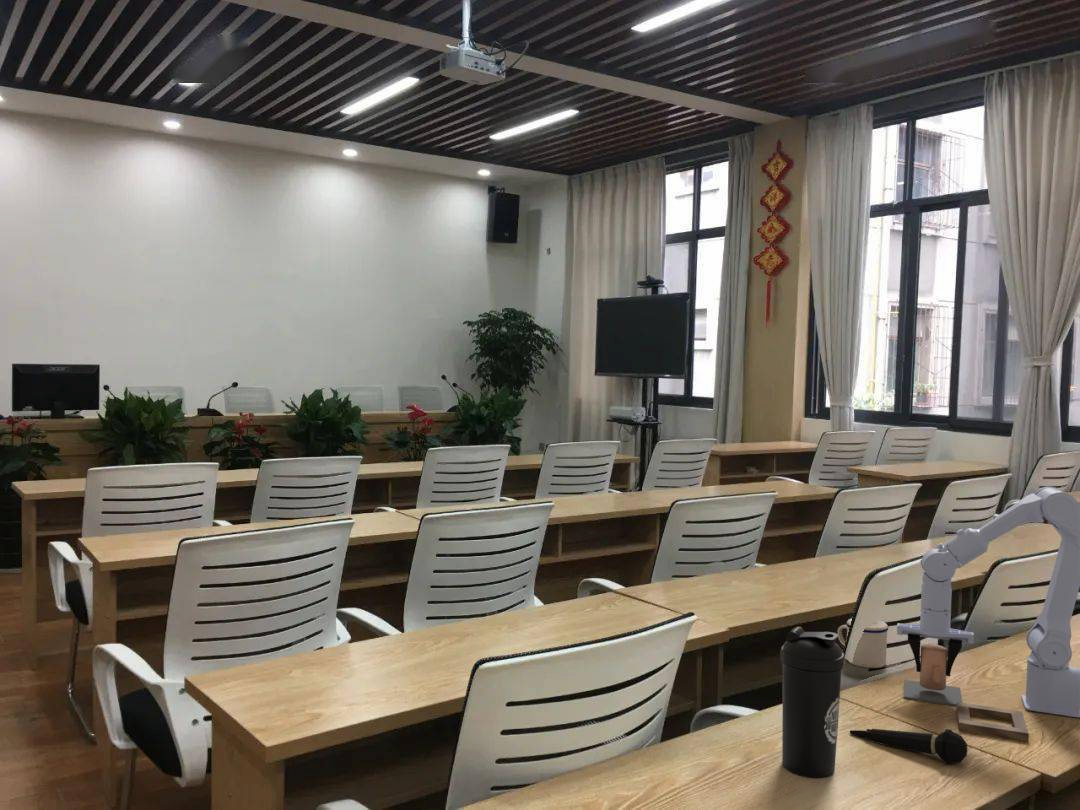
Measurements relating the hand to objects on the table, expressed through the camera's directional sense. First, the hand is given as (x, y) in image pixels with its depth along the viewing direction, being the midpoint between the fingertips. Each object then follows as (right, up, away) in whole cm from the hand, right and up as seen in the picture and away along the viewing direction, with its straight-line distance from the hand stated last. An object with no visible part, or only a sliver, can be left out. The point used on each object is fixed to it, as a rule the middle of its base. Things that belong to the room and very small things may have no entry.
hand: (933, 672), depth 187 cm
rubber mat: (0, -5, 0) cm, 4 cm away
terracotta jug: (0, -3, 0) cm, 3 cm away
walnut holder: (+4, -5, -16) cm, 17 cm away
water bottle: (-37, -6, -35) cm, 51 cm away
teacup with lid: (-8, -4, +21) cm, 22 cm away
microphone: (-16, -6, -27) cm, 32 cm away
